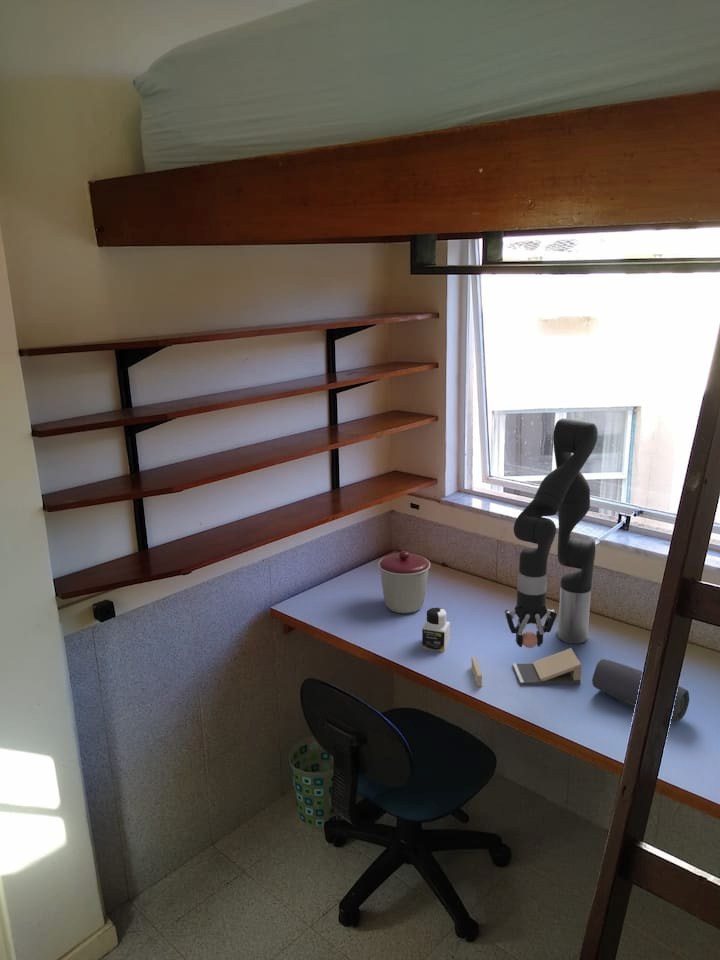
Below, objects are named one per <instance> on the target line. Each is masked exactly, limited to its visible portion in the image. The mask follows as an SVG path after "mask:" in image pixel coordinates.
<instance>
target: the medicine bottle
mask: <svg viewBox="0 0 720 960" xmlns="http://www.w3.org/2000/svg"><path fill="white" fill-rule="evenodd" d="M421 631H422V632H421V633H422V637H421V639H422V643H421V644H422V645H421V648H423V649H425V650H431V651H435V652H436V651H437V652H441V653H442V652H443V653H444V652H445V651H446V649H447V648H448V646H449V644H450V641H451V639H450V637H451V622H450V621H447V612H446V610H445V609H443V608H441V607H431V608H429V609H428V610H427V611H426V622H425V623H424V625H423V627H422V628H421Z"/></svg>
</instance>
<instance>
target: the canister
mask: <svg viewBox="0 0 720 960" xmlns="http://www.w3.org/2000/svg"><path fill="white" fill-rule="evenodd" d="M377 566H378V569H379V570H380V578H381V587H382V594H383V600H384V604H385V606H386V607H387V608H388V610H390V611H392V612H394V613H397V614H411V613H416V612H417V611H419V610H420V609H421V608H422V607H423V605H424V602H425V597H426V591H427V590H426V589H427V582H428V575H429V569H430V568H431V562H430V560H428V559H427V558H425V557H423V556H422V555H419V554H416V553H411V552H409V551H407V550H401V551H400V552H397V553H396V552H395V553H392V554H388V555H386V556H384V557H383V558H381V559H380V560H379V561H378V563H377Z"/></svg>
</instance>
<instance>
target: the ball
mask: <svg viewBox="0 0 720 960" xmlns="http://www.w3.org/2000/svg"><path fill="white" fill-rule="evenodd" d="M522 635H523V642H522V646H523V647H525V648H528V649H532V648H535V647H536V646H537V642H538V638H537V636H536V633H534V631H529V630H527V631H525V632H523V633H522Z"/></svg>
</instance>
